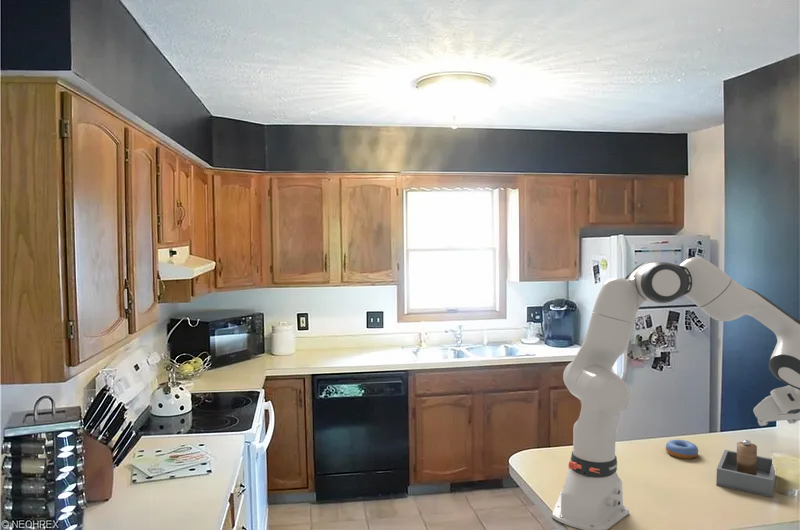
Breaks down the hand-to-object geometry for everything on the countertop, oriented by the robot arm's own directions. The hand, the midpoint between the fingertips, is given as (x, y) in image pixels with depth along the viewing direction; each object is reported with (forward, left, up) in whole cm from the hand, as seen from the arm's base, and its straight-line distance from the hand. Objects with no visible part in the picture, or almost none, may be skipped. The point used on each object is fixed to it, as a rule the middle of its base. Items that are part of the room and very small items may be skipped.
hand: (775, 422), depth 163 cm
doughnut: (+19, +27, -22) cm, 40 cm away
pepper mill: (+8, +7, -21) cm, 23 cm away
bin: (+8, +7, -21) cm, 24 cm away
